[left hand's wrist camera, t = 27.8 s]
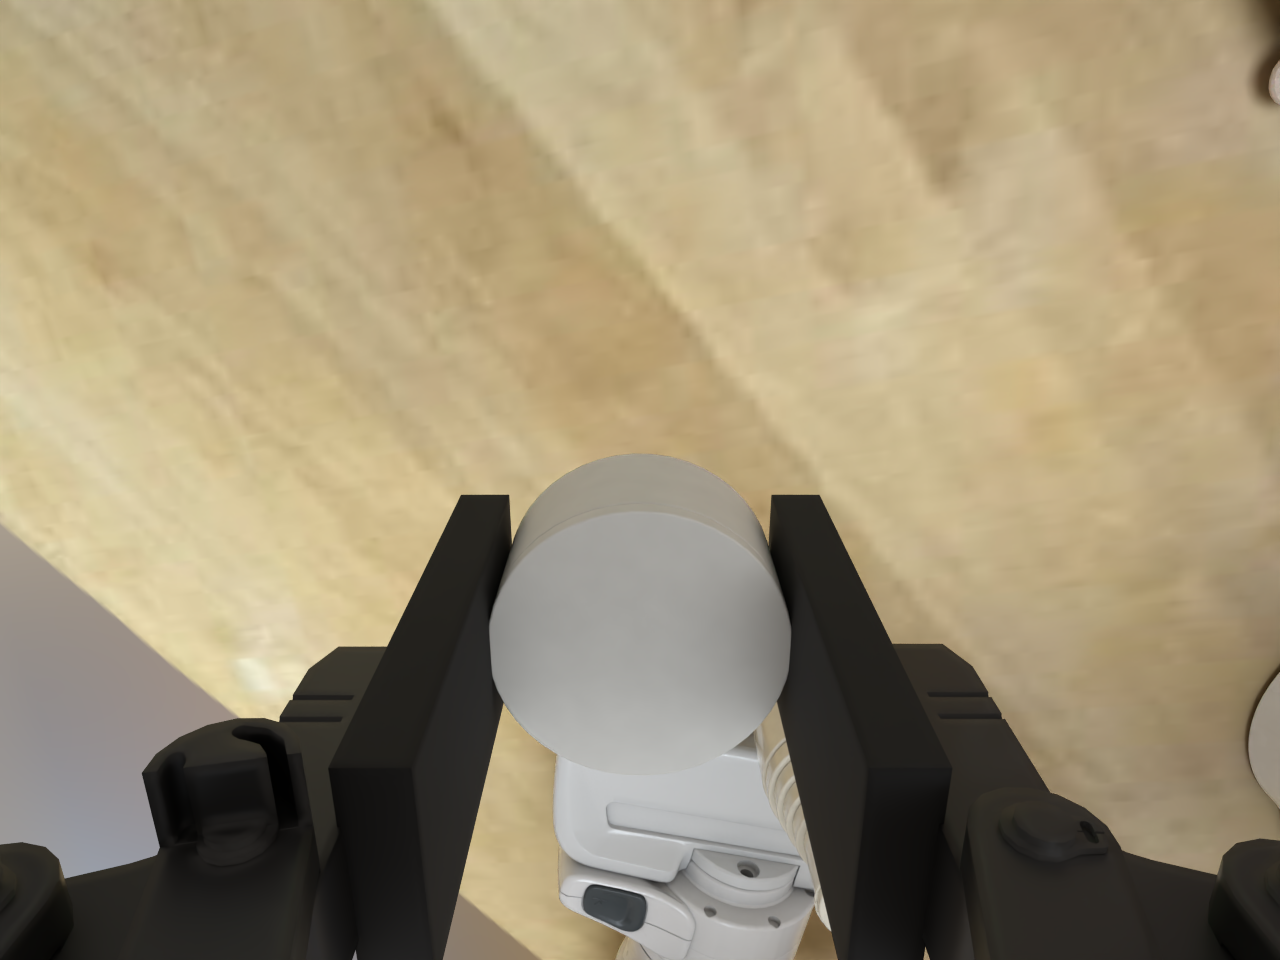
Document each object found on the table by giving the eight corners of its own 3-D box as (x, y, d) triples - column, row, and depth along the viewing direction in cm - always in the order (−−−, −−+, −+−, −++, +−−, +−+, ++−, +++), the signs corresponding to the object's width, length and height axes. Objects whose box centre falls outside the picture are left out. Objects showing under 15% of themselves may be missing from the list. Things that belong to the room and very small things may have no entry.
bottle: (769, 659, 49) (851, 987, 30) (709, 600, 48) (755, 904, 29) (842, 604, 48) (973, 910, 29) (782, 541, 47) (880, 820, 28)
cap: (712, 715, 16) (724, 808, 13) (478, 643, 15) (450, 728, 13) (813, 503, 14) (844, 569, 12) (556, 414, 14) (540, 468, 11)
